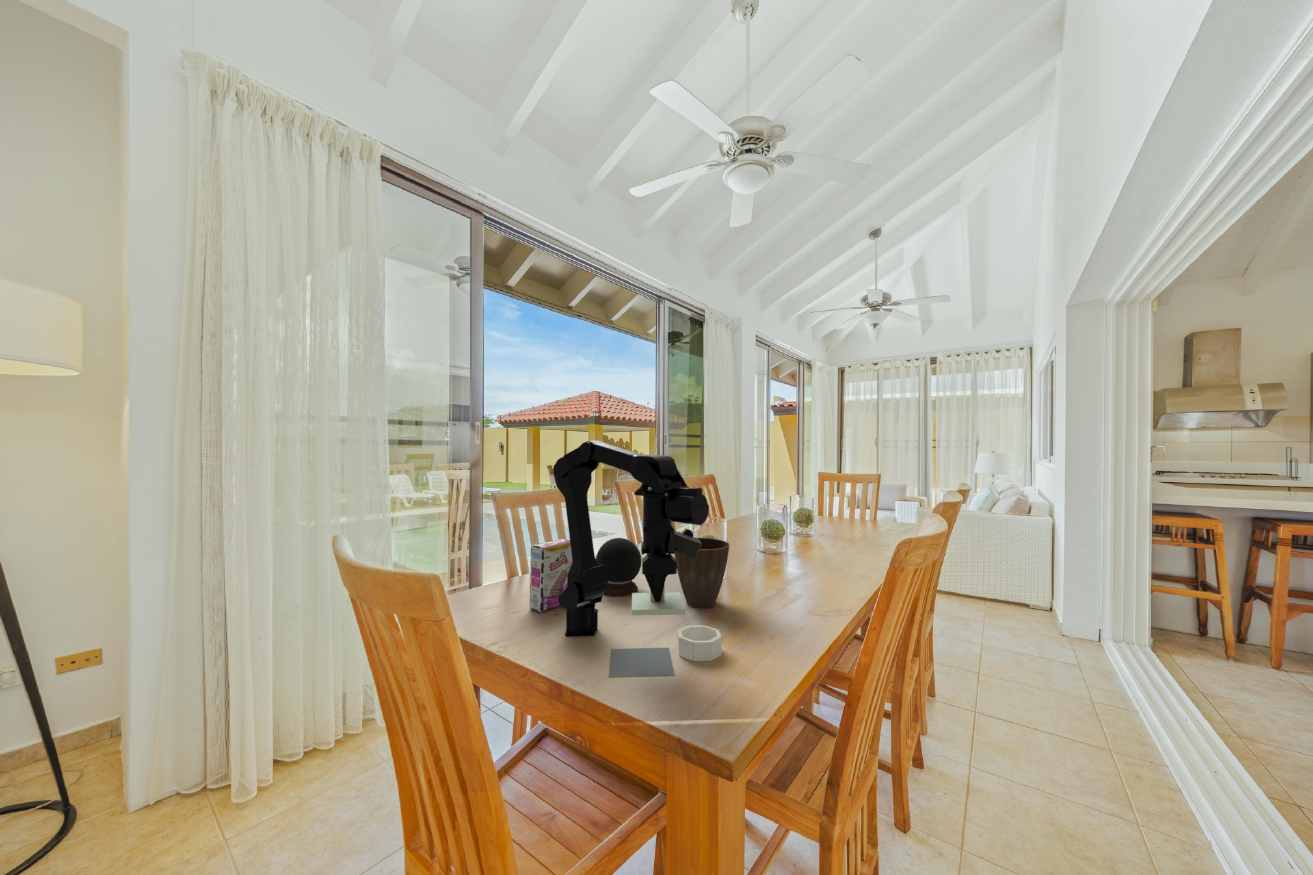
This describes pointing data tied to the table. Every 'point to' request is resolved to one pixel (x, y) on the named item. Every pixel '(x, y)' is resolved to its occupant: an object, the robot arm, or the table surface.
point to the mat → (640, 662)
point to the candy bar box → (549, 573)
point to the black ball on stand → (620, 566)
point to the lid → (657, 604)
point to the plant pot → (703, 572)
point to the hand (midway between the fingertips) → (657, 599)
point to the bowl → (699, 643)
